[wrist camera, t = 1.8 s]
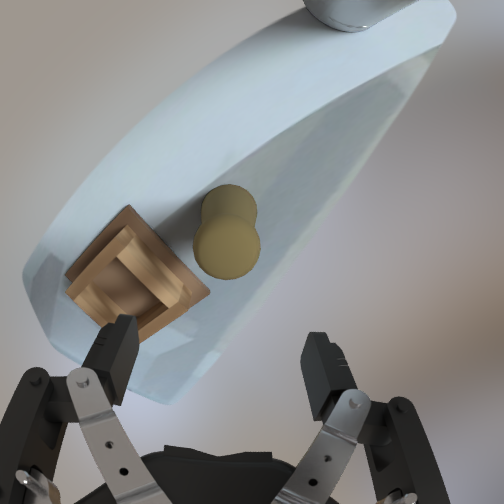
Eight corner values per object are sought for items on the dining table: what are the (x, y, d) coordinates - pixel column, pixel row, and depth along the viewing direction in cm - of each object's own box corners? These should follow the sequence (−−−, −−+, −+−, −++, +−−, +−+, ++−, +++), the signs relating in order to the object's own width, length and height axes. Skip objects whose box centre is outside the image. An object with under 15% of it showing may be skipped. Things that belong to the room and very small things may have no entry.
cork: (189, 204, 30) (167, 246, 20) (237, 173, 29) (237, 199, 19) (221, 247, 32) (216, 304, 22) (267, 219, 31) (283, 266, 21)
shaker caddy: (67, 272, 32) (51, 289, 28) (129, 204, 29) (114, 216, 25) (138, 340, 38) (131, 362, 33) (210, 290, 35) (207, 312, 30)
